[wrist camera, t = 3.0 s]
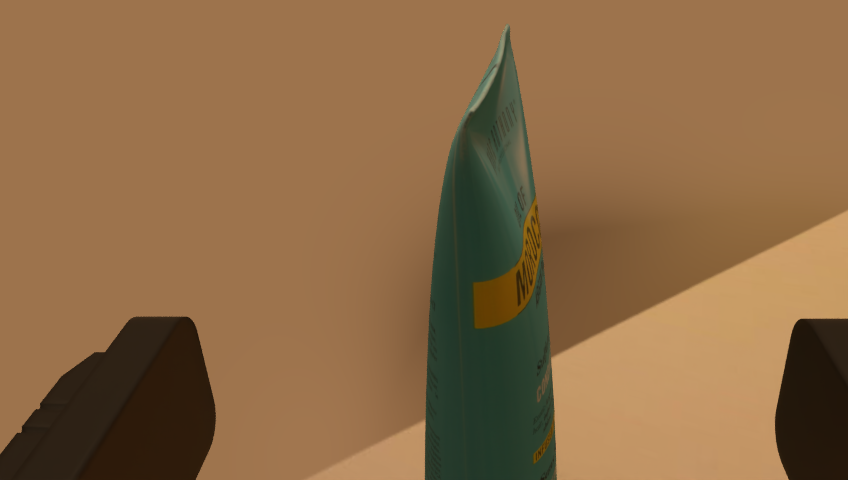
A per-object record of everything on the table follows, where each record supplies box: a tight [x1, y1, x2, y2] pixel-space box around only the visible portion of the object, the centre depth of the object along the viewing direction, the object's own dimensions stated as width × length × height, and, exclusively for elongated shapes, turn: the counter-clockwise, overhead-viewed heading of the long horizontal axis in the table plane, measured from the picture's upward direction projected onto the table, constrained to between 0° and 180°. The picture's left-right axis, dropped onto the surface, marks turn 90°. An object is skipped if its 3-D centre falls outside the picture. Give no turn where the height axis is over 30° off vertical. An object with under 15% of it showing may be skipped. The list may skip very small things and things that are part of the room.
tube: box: [425, 24, 557, 480], centre depth 24 cm, size 7×5×19 cm, turn 173°
